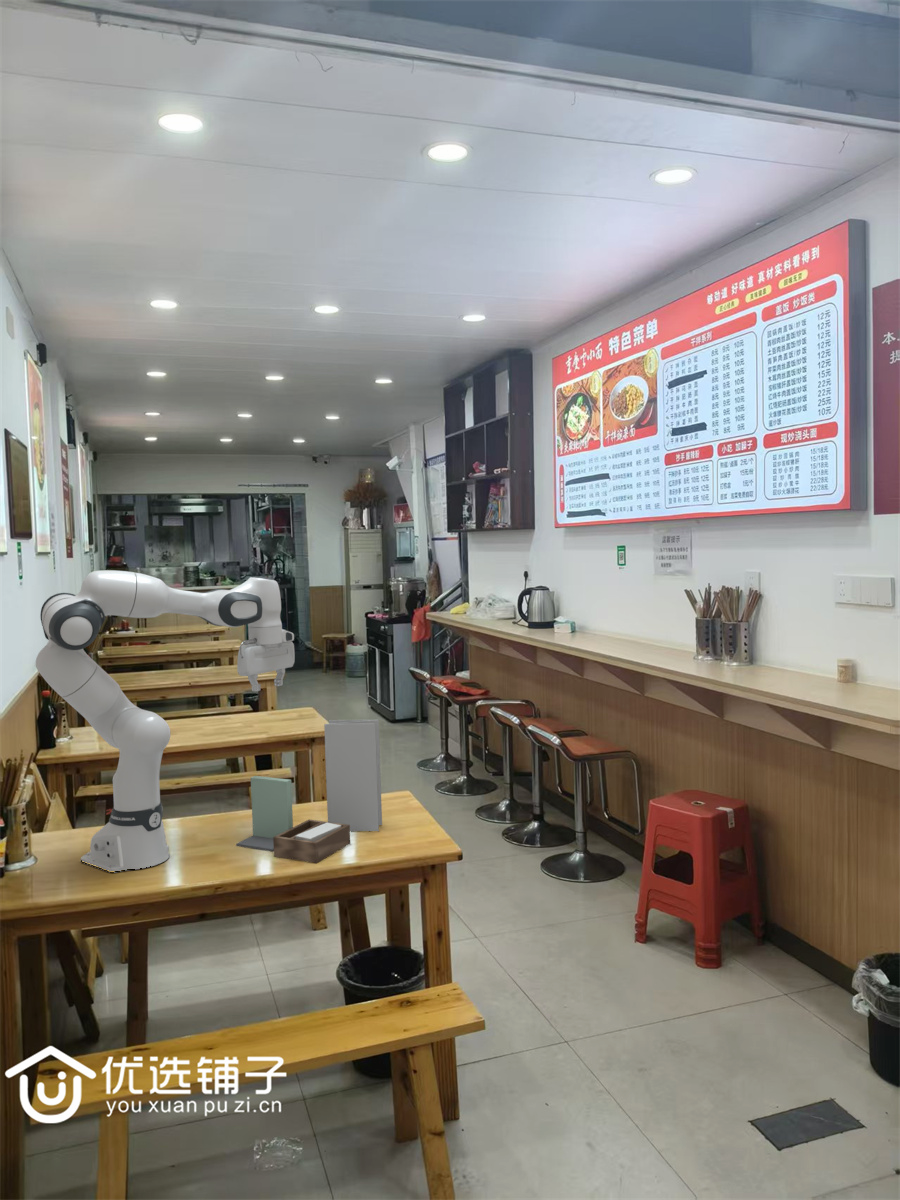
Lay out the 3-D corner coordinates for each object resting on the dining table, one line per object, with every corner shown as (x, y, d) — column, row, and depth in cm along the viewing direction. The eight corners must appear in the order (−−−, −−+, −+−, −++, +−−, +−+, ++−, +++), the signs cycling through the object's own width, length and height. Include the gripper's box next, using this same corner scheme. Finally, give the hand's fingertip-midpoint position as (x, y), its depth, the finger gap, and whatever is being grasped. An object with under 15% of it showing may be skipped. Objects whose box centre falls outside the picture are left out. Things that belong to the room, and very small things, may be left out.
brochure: (382, 825, 240) (378, 719, 239) (378, 831, 235) (375, 723, 233) (332, 825, 242) (329, 720, 240) (328, 831, 236) (324, 724, 234)
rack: (274, 856, 217) (273, 837, 217) (309, 837, 231) (309, 819, 231) (316, 863, 212) (315, 843, 211) (350, 843, 226) (349, 824, 225)
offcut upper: (295, 847, 216) (295, 835, 216) (327, 833, 226) (326, 822, 226) (310, 850, 214) (310, 838, 214) (341, 836, 224) (341, 825, 224)
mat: (236, 845, 226) (236, 843, 226) (273, 827, 241) (273, 825, 241) (272, 851, 221) (272, 849, 221) (309, 832, 235) (309, 830, 235)
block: (288, 840, 227) (286, 781, 226) (252, 835, 232) (250, 777, 232) (293, 838, 229) (291, 779, 228) (257, 833, 234) (255, 775, 233)
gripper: (249, 641, 217) (251, 695, 218) (297, 633, 235) (299, 683, 236) (230, 640, 220) (232, 694, 221) (279, 633, 238) (281, 682, 239)
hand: (267, 688), depth 229 cm, fingers open, 8 cm apart
